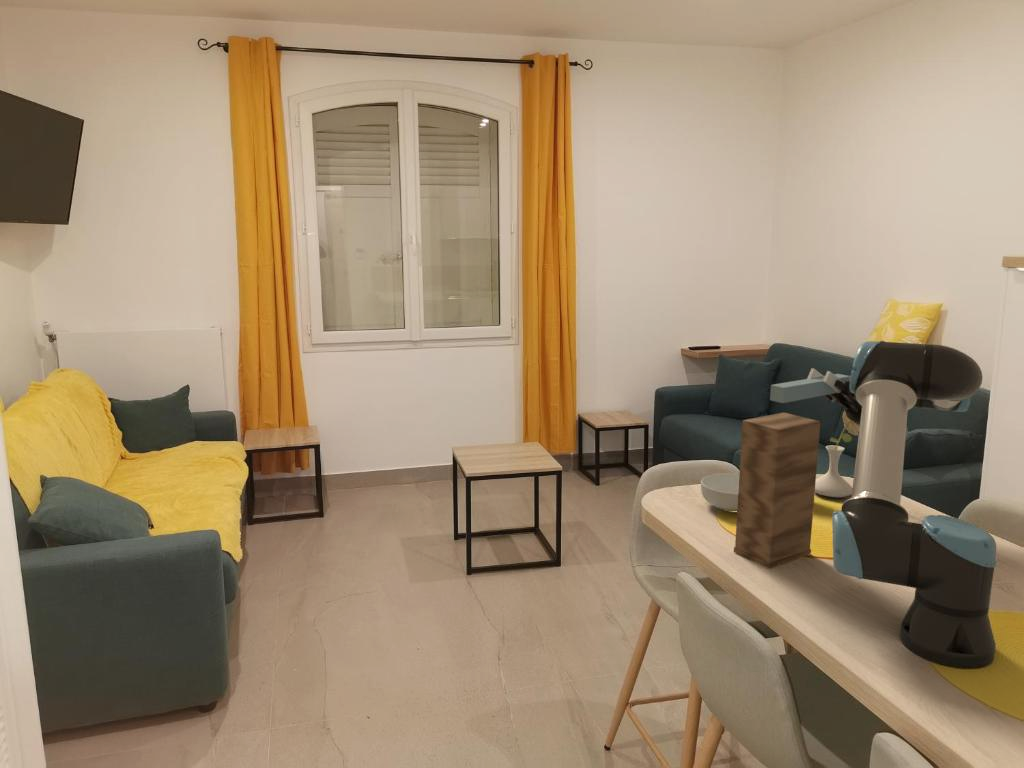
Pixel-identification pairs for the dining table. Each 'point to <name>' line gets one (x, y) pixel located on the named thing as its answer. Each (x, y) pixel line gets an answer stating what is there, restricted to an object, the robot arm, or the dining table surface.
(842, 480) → the flower in vase
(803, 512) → the pedestal
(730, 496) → the cereal bowl
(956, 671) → the dining table surface
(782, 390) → the bar
